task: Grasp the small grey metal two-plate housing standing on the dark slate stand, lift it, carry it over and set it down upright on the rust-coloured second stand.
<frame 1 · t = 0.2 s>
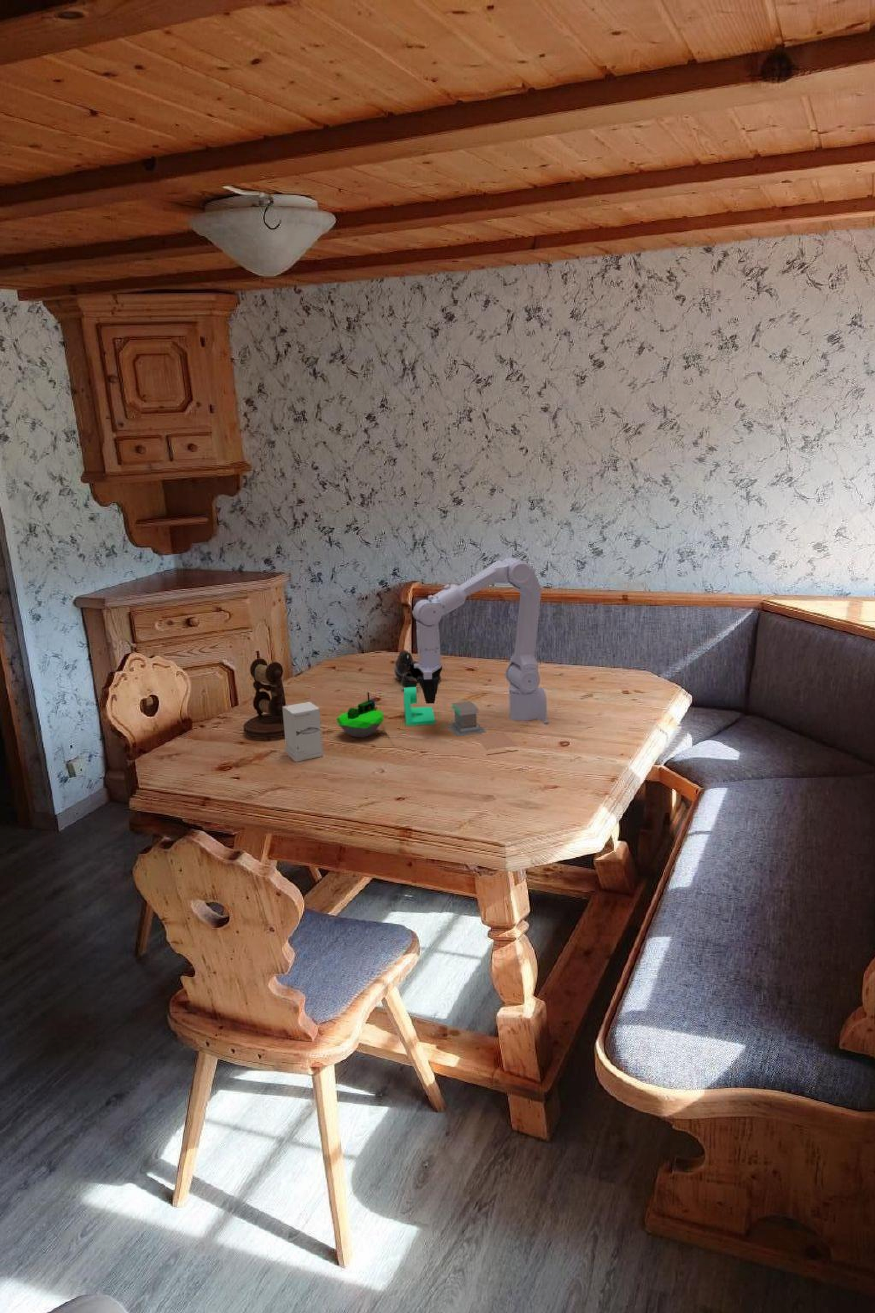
hand: (431, 698, 238), 10 cm above the table, tool pointing down, fingers open, 7 cm apart
camera mount: (419, 724, 250), on the table
green floating island model: (361, 736, 242), on the table
cat figurine: (420, 685, 286), on the table
stand a: (466, 733, 240), on the table
stand b: (495, 746, 230), on the table
brown upright round-based piece: (272, 732, 248), on the table
supplement box: (304, 756, 230), on the table
housing: (465, 728, 240), point 1 cm above the table, touching stand a
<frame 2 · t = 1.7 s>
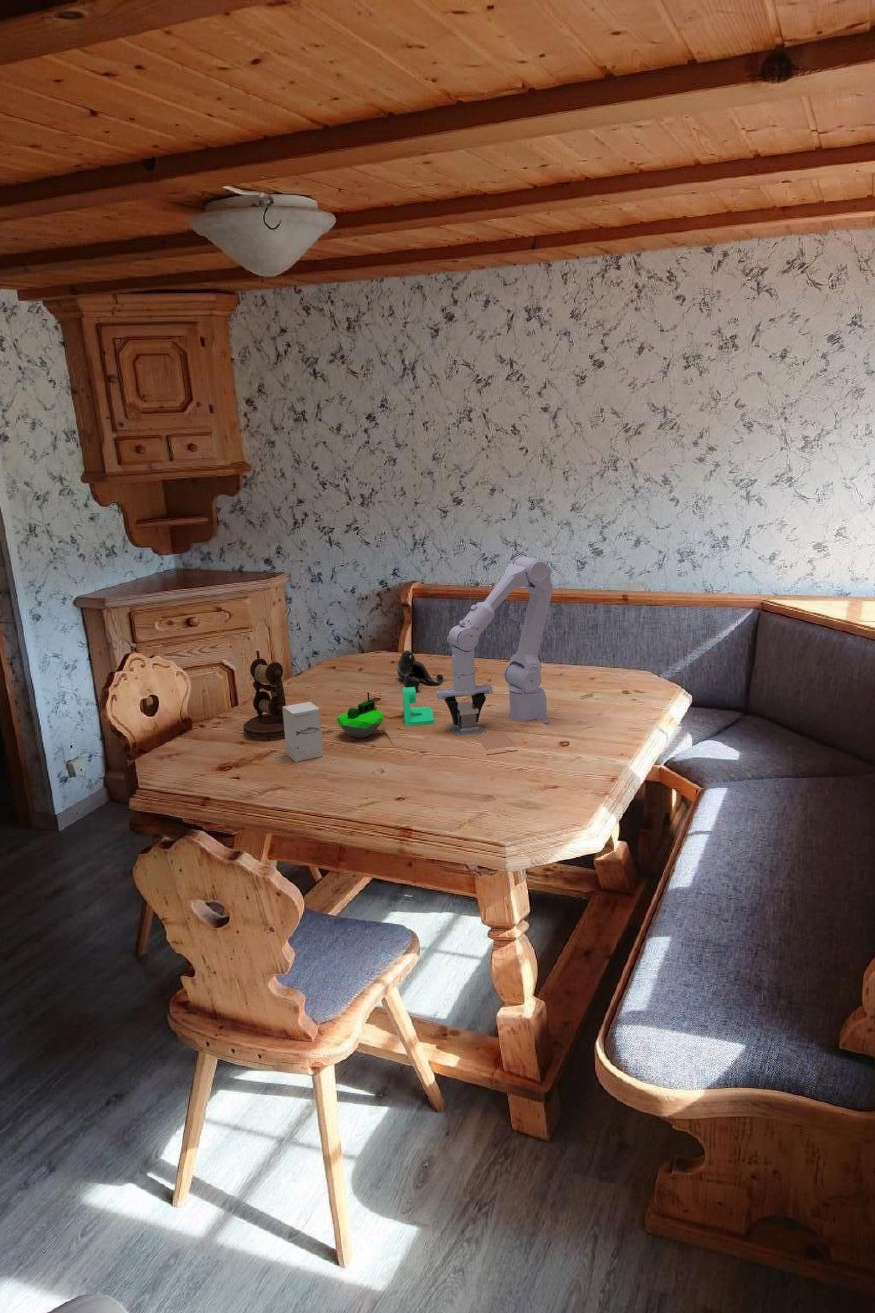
hand: (465, 722, 239), 3 cm above the table, tool pointing down, fingers closed on housing, 5 cm apart
housing: (465, 728, 240), point 1 cm above the table, touching gripper, stand a
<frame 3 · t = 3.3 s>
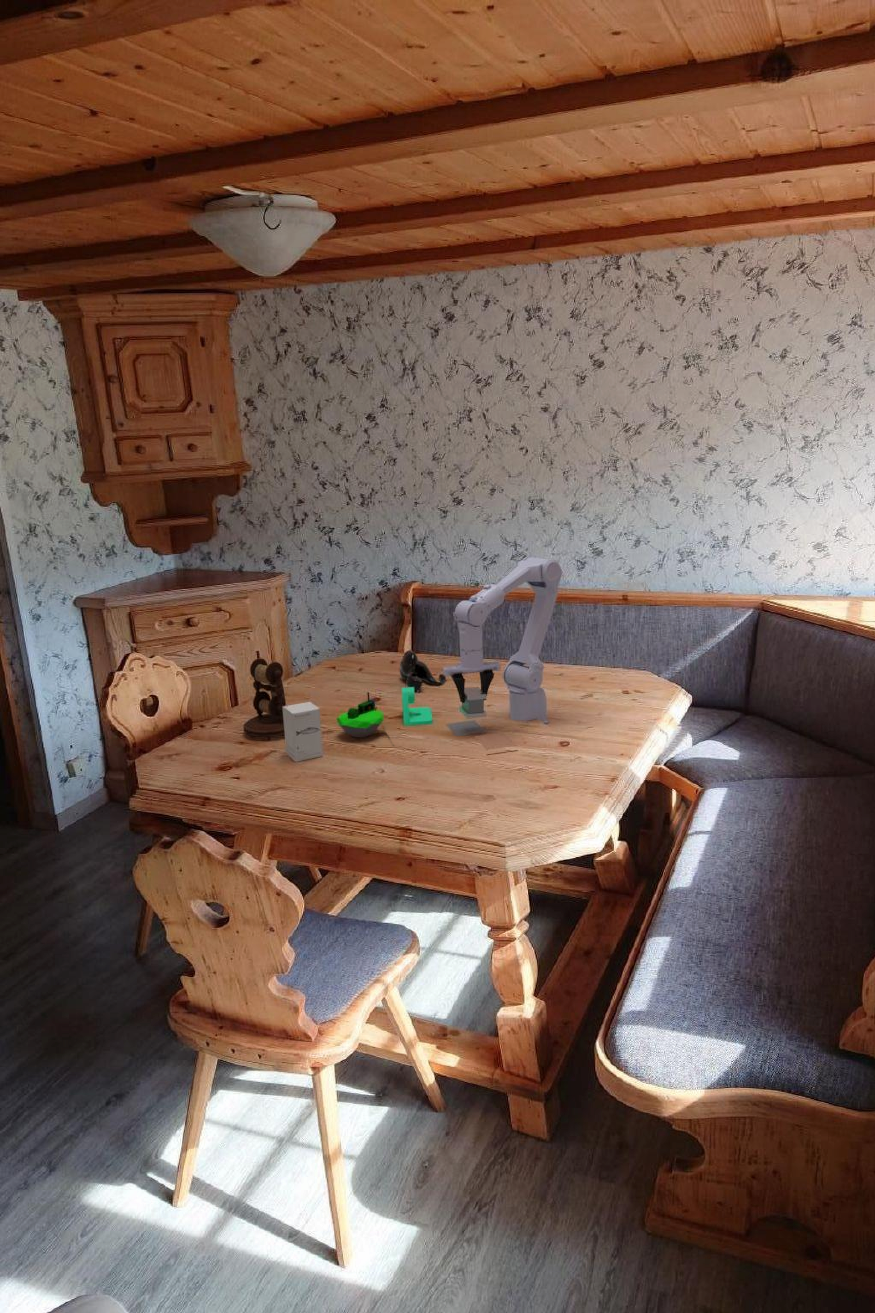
hand: (473, 700, 235), 10 cm above the table, tool pointing down, fingers closed on housing, 5 cm apart
housing: (472, 713, 236), point 6 cm above the table, touching gripper
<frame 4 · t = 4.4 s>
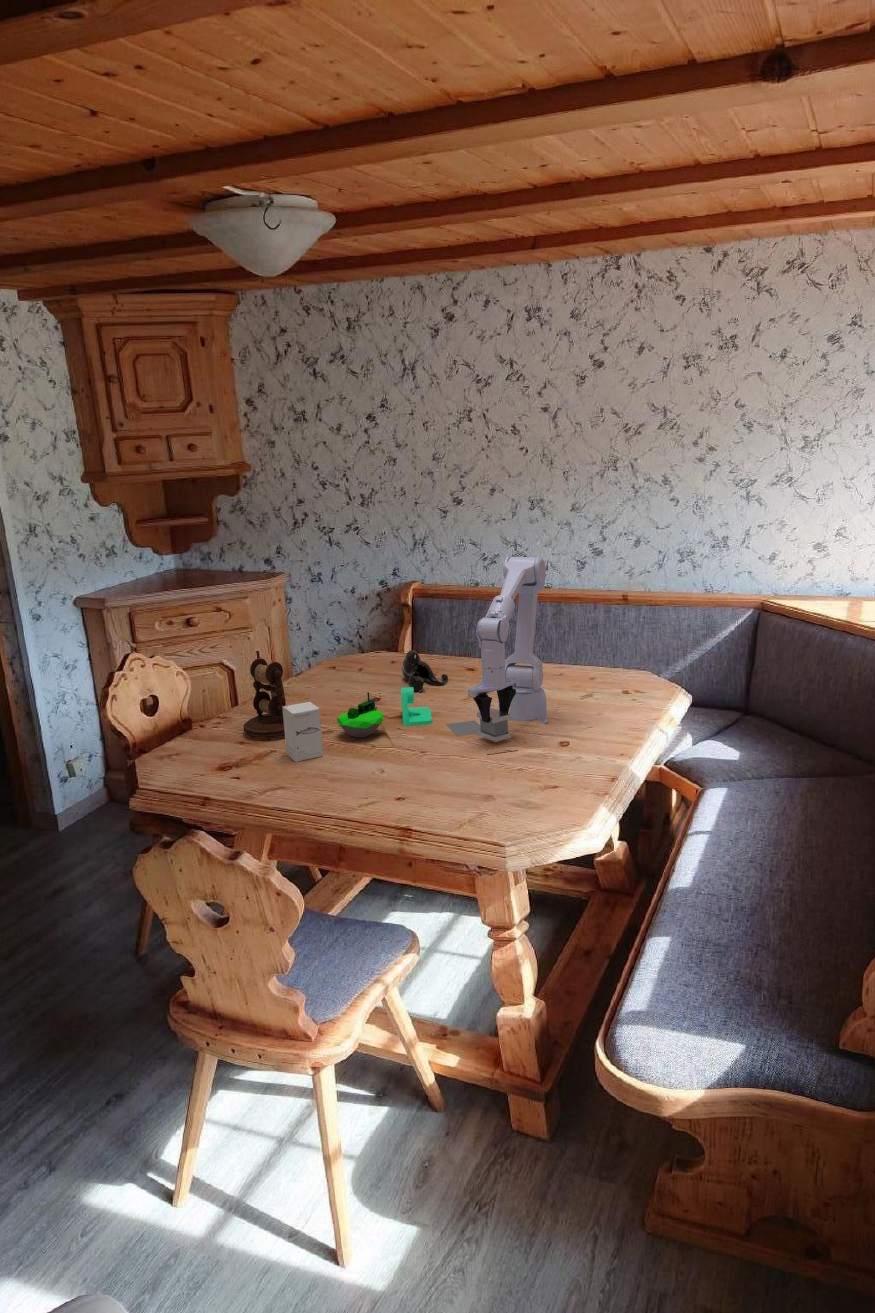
hand: (494, 719, 228), 7 cm above the table, tool pointing down, fingers closed on housing, 5 cm apart
housing: (494, 736, 229), point 3 cm above the table, touching gripper
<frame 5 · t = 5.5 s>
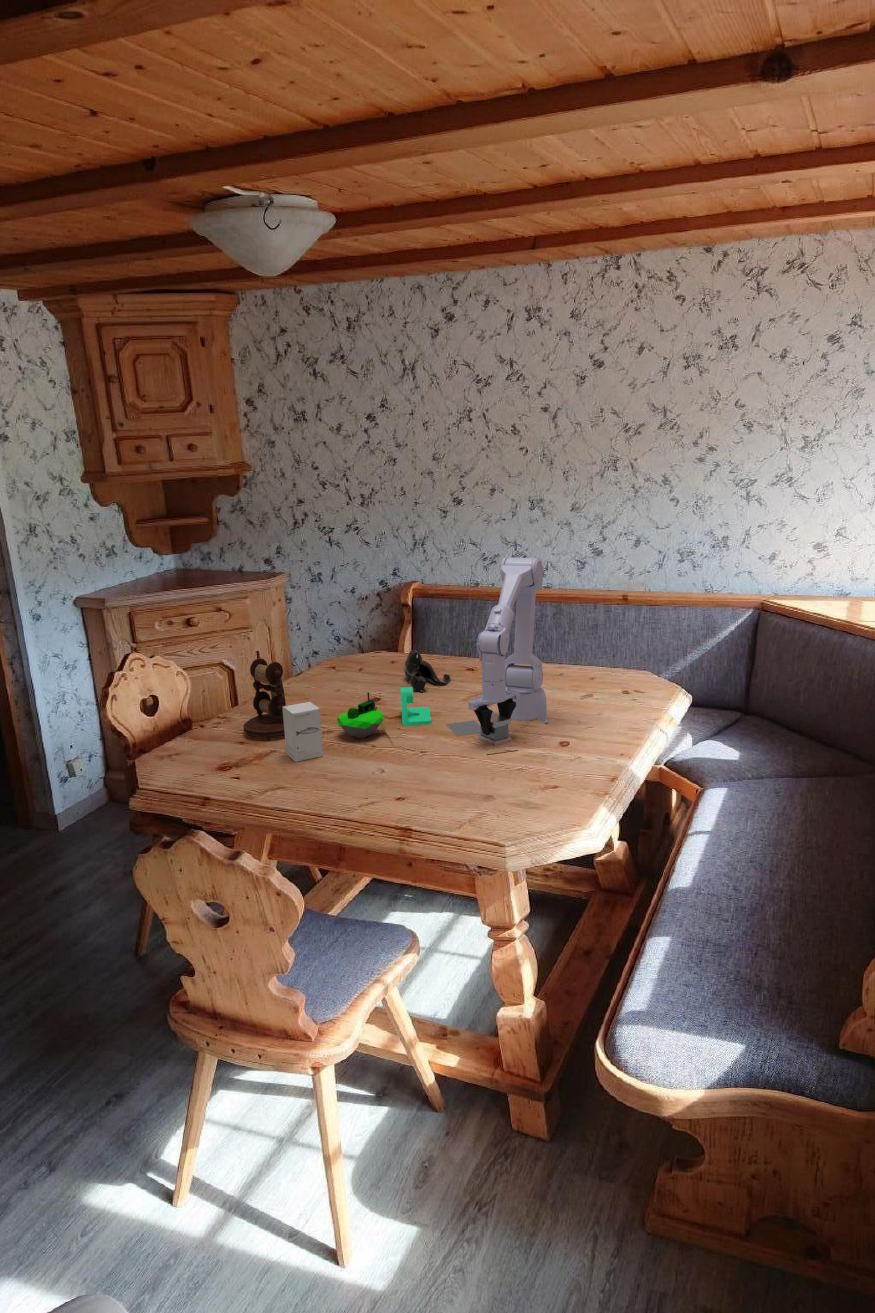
hand: (495, 731, 229), 4 cm above the table, tool pointing down, fingers closed on housing, 5 cm apart
housing: (494, 740, 230), point 1 cm above the table, touching gripper, stand b
when the fingers open (4 cm above the table, at t = 5.5 s): housing stays where it is, resting on stand b.
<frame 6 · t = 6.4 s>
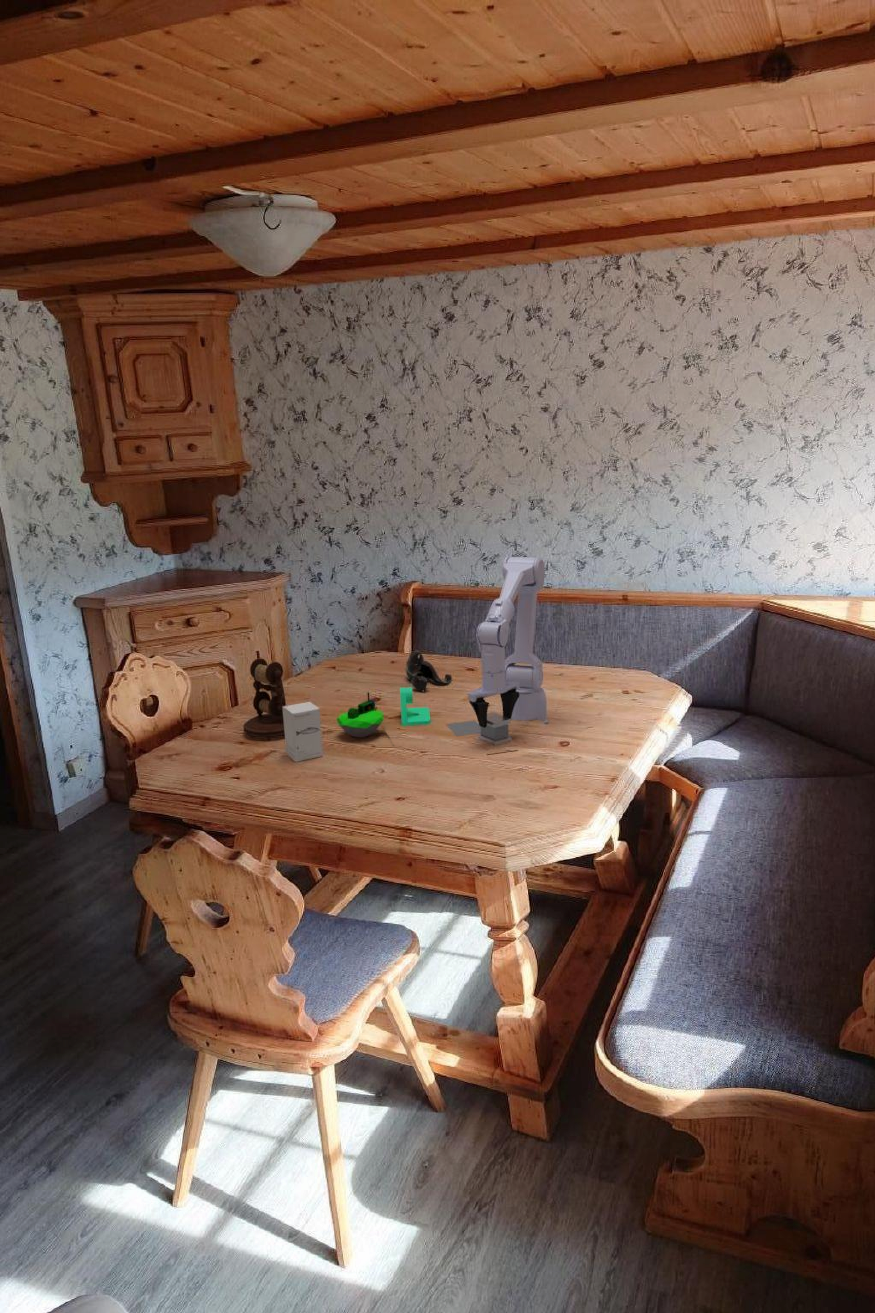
hand: (495, 723, 228), 6 cm above the table, tool pointing down, fingers open, 7 cm apart
housing: (494, 740, 230), point 1 cm above the table, touching stand b
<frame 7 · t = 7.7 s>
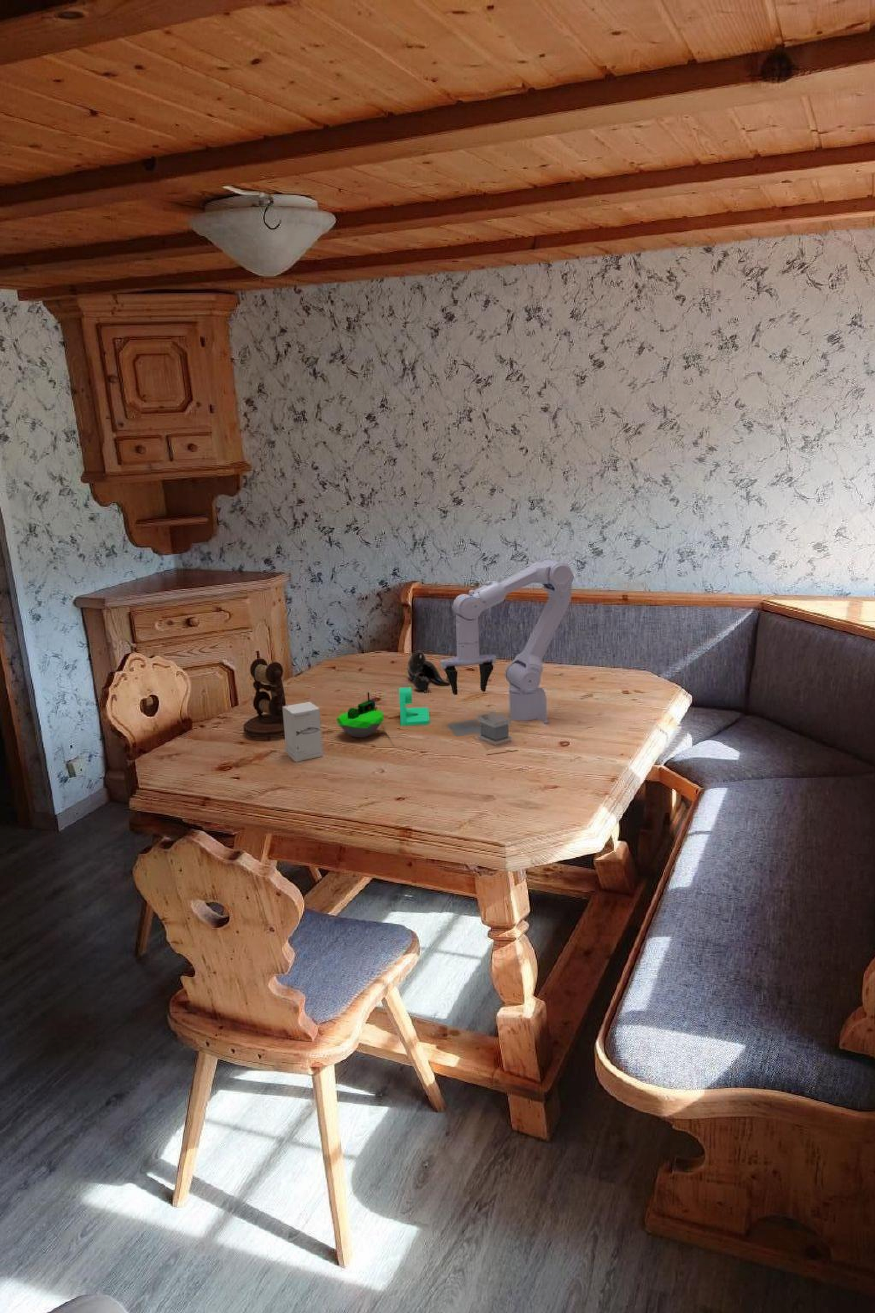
hand: (469, 692, 240), 10 cm above the table, tool pointing down, fingers open, 7 cm apart
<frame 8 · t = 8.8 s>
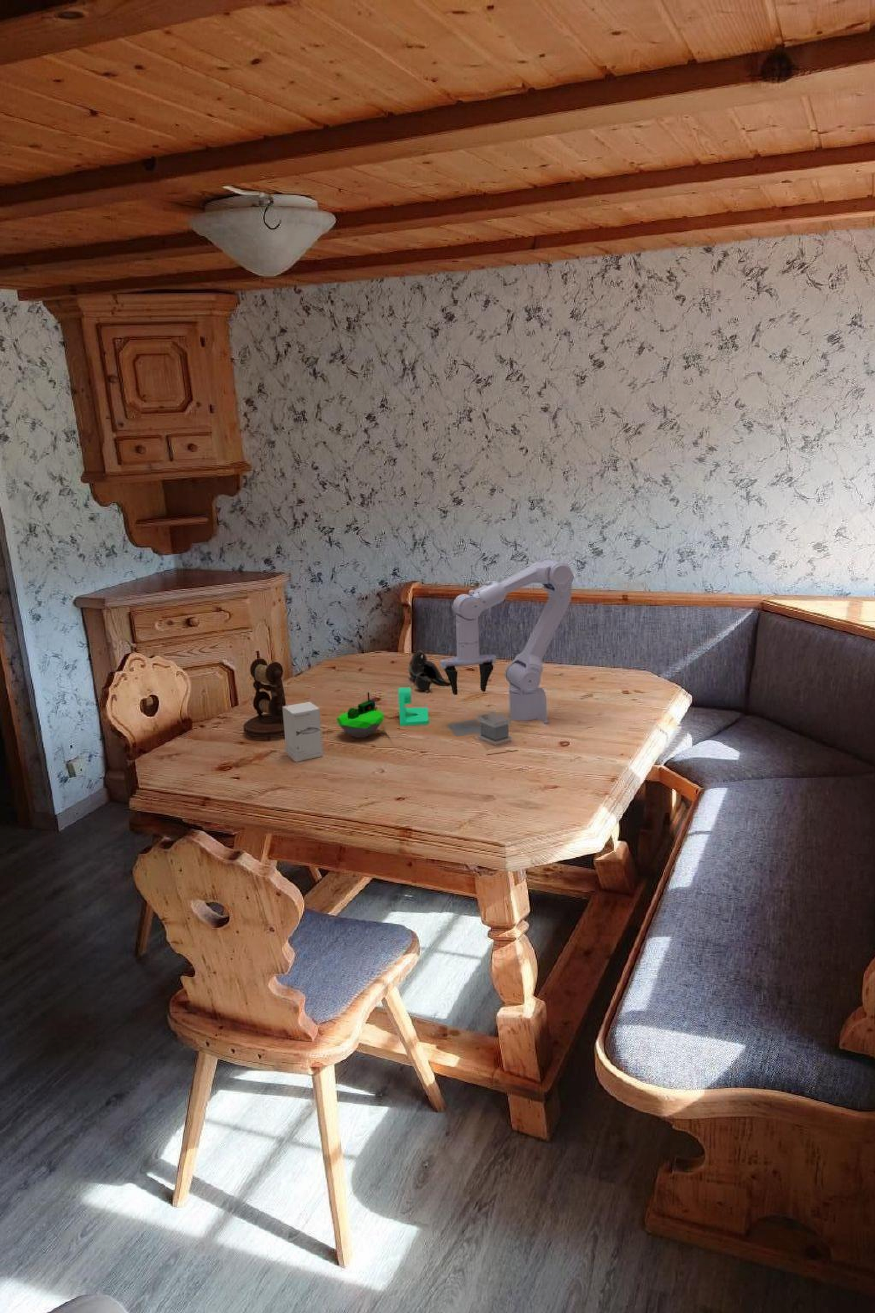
hand: (469, 692, 240), 10 cm above the table, tool pointing down, fingers open, 7 cm apart
at the end: housing inside the target area on the stand b (0.3 cm from its centre), point 1.5 cm above the stand b's base; housing tilted 0°; the gripper is holding nothing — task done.
